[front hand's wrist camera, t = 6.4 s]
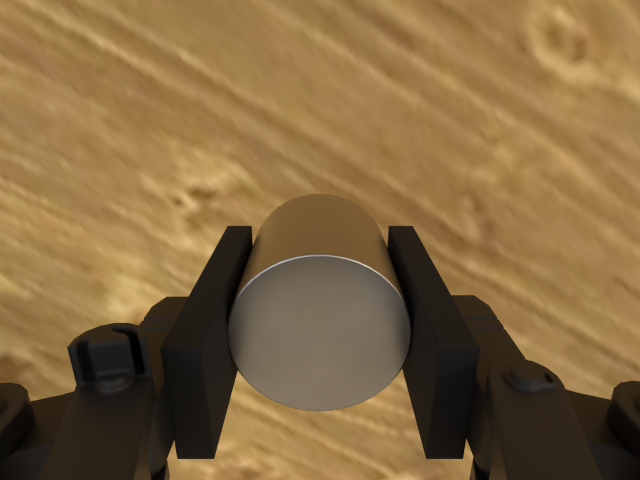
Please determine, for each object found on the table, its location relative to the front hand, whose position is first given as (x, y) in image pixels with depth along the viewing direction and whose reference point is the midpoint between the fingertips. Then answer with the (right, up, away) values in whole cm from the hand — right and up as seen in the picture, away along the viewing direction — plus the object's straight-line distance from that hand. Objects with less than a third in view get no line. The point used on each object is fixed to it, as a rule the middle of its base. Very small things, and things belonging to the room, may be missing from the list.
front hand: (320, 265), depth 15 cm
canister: (0, 0, 0) cm, 0 cm away
